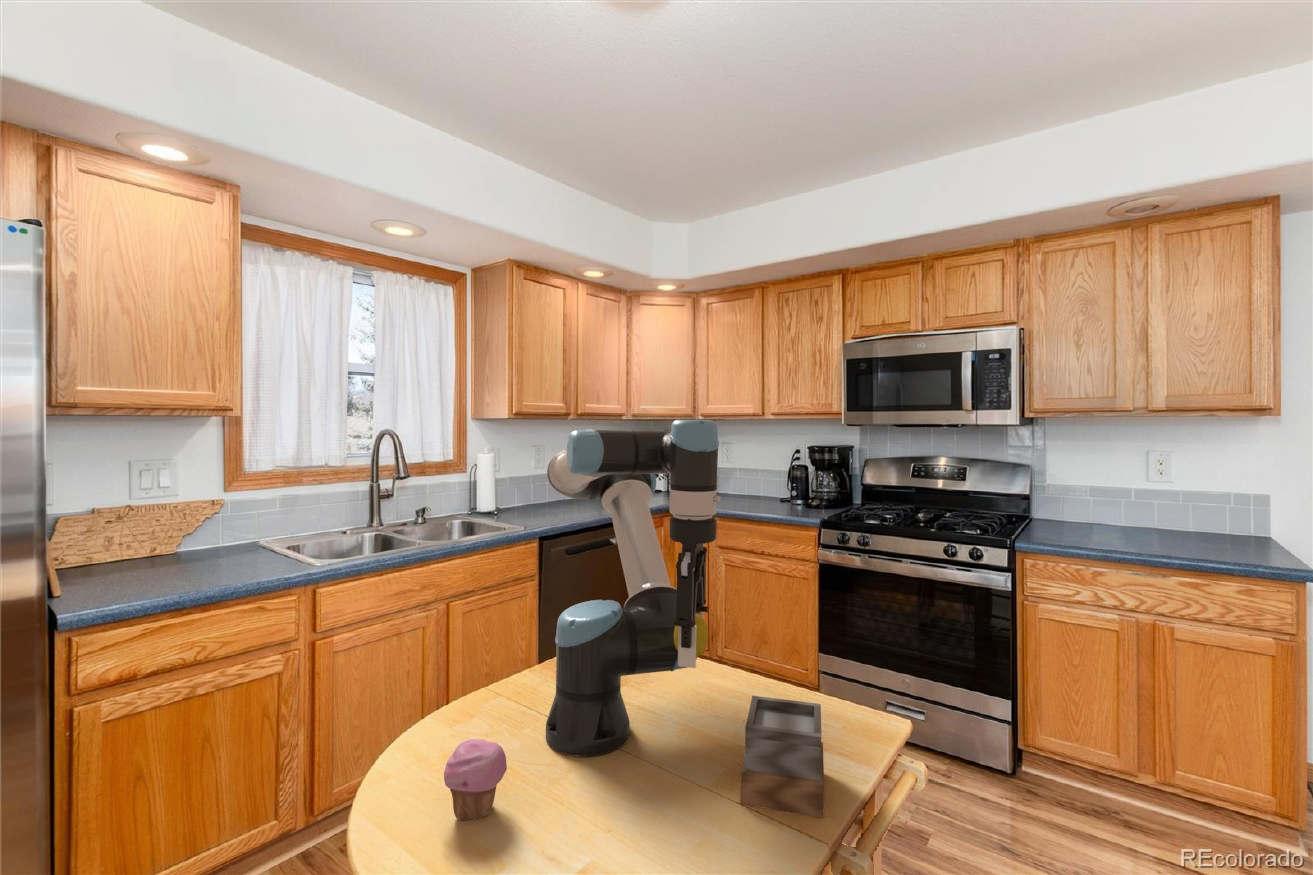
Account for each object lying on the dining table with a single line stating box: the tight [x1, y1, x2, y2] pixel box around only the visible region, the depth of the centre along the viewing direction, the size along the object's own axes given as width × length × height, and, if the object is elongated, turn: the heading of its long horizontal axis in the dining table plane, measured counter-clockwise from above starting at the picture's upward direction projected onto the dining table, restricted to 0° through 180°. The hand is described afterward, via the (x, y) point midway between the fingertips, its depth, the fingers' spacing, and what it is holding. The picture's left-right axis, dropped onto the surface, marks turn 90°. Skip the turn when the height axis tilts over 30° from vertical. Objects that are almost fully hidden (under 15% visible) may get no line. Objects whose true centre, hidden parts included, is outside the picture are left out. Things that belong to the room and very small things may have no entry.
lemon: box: [674, 614, 709, 658], centre depth 100 cm, size 6×6×8 cm
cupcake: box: [443, 738, 508, 821], centre depth 90 cm, size 9×9×10 cm
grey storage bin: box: [739, 695, 825, 819], centre depth 97 cm, size 12×12×12 cm
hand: (690, 658), depth 100 cm, fingers closed on lemon, 5 cm apart
